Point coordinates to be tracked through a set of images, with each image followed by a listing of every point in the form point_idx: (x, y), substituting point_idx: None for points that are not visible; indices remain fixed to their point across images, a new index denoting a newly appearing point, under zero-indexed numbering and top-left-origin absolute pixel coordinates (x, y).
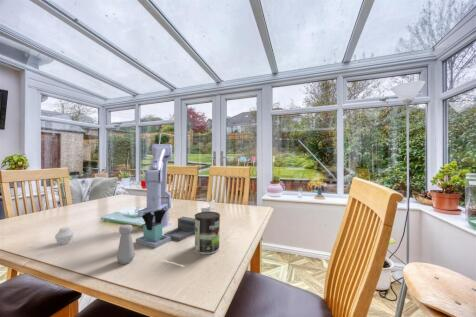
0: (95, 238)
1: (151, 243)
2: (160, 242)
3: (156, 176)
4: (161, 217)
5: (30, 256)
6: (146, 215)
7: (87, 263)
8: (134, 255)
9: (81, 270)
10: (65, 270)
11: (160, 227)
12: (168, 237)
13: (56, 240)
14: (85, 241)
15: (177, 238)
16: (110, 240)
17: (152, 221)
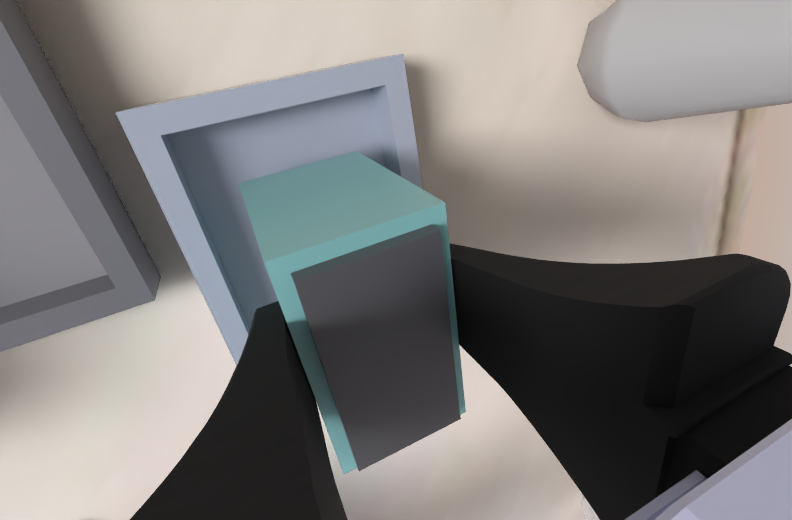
0: (511, 503)
1: (412, 122)
2: (323, 70)
3: None
4: (261, 403)
5: None
6: (775, 355)
7: (677, 215)
8: (618, 1)
9: (721, 156)
10: (730, 212)
11: (298, 223)
12: (163, 116)
13: None
14: (551, 482)
15: (5, 15)
16: (486, 446)
17: (513, 283)
